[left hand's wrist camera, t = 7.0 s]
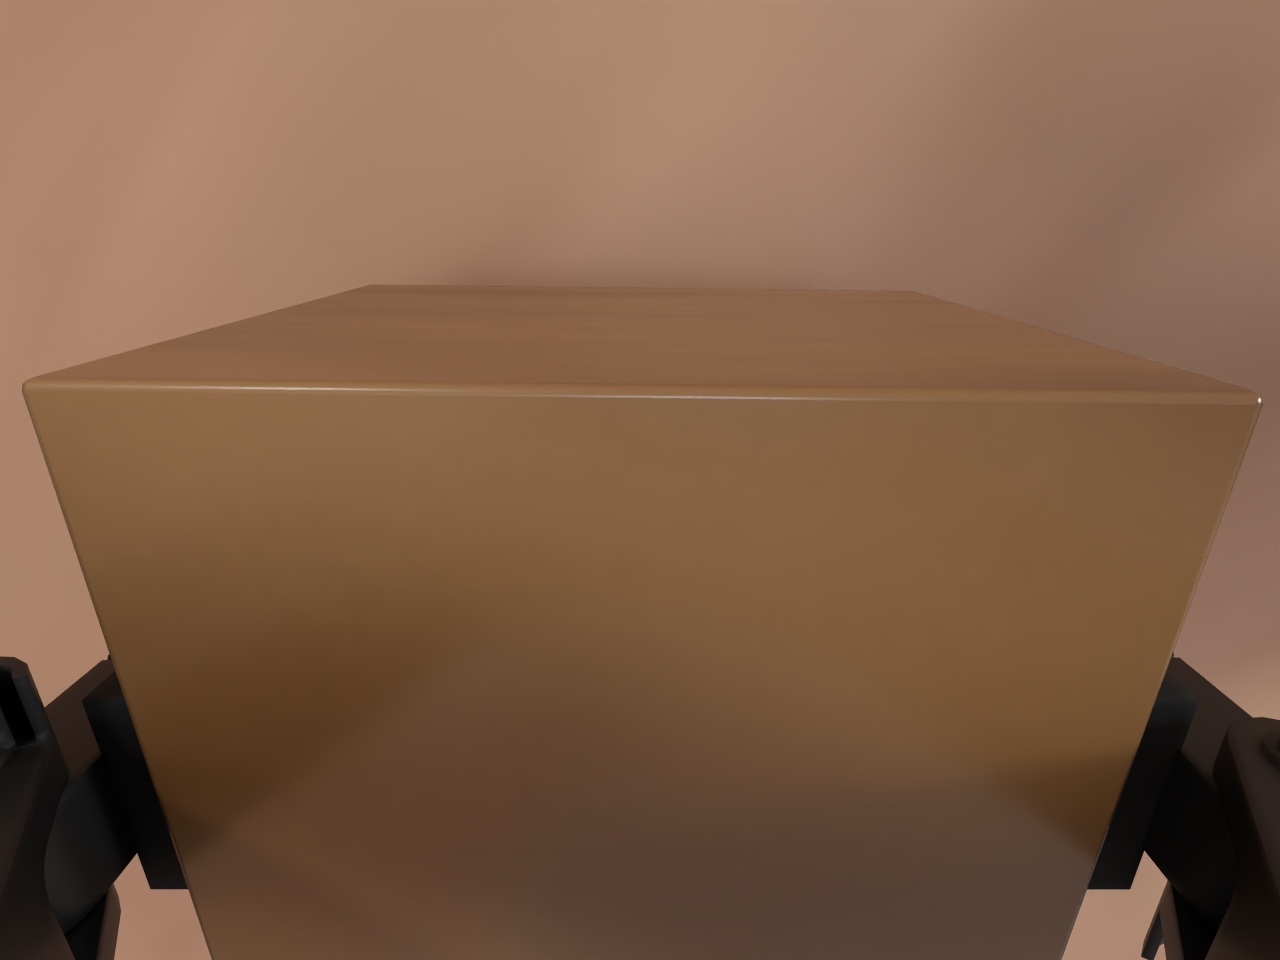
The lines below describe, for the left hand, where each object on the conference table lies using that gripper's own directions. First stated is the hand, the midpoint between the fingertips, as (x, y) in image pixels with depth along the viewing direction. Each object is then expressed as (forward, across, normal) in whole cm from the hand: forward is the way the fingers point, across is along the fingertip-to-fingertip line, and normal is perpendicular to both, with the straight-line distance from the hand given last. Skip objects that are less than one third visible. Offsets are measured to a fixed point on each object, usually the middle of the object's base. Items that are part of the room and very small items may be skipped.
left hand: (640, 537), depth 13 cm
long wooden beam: (+1, 0, -31) cm, 31 cm away
